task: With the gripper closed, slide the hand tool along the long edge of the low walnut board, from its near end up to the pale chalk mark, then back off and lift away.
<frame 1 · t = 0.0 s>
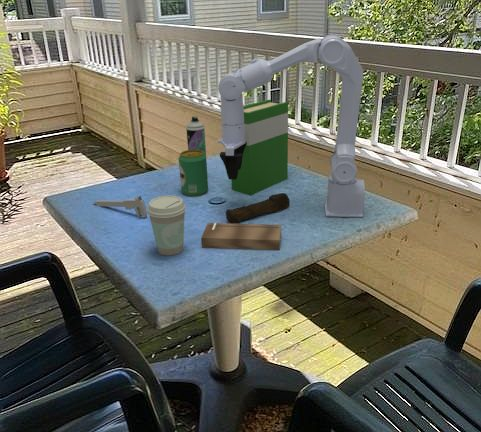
hand: (234, 173, 127), 10 cm above the table, tool pointing down, fingers open, 7 cm apart
beverage can: (194, 192, 144), on the table
hardback book: (260, 185, 148), on the table
walnut board: (242, 240, 115), on the table
spray can: (199, 179, 154), on the table
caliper: (118, 212, 133), on the table
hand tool: (258, 215, 128), on the table
coffee cup: (170, 250, 112), on the table
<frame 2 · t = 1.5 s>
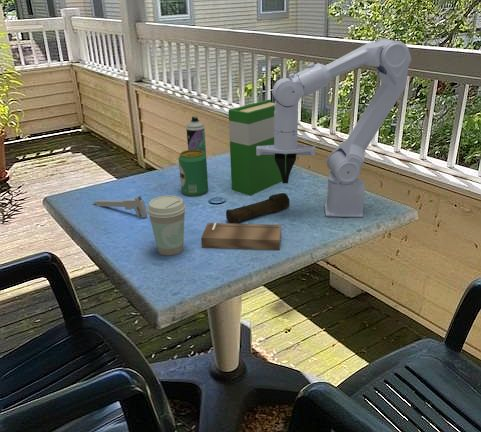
hand: (285, 182, 123), 9 cm above the table, tool pointing down, fingers closed
nothing on the table moved.
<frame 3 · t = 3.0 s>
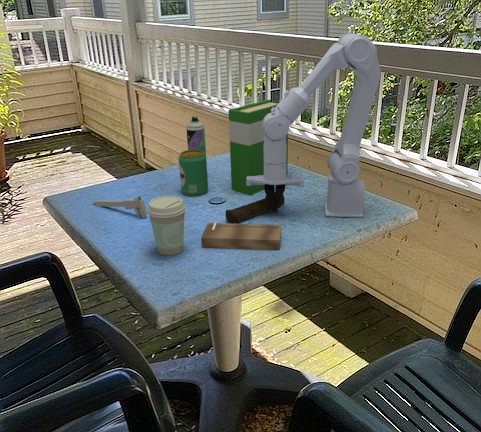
hand: (274, 210, 127), 1 cm above the table, tool pointing down, fingers closed
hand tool: (256, 214, 129), on the table, touching gripper
everything else where it was.
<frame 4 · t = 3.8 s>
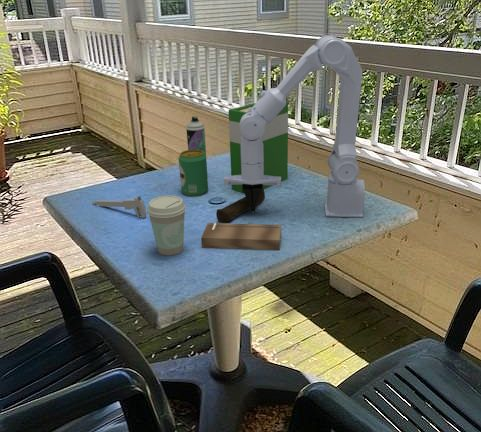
hand: (253, 210, 128), 1 cm above the table, tool pointing down, fingers closed
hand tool: (242, 211, 131), on the table, touching gripper
everything else where it was.
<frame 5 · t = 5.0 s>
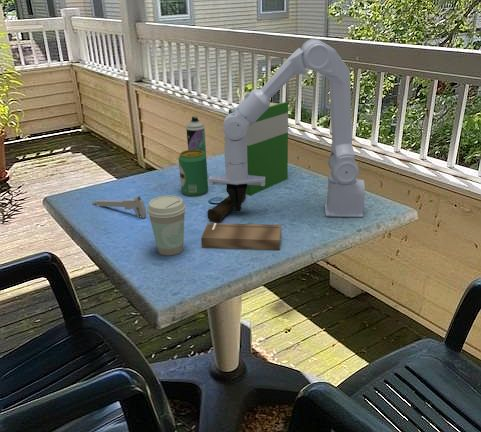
hand: (238, 210, 128), 1 cm above the table, tool pointing down, fingers closed
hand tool: (228, 209, 132), on the table
everything else where it was.
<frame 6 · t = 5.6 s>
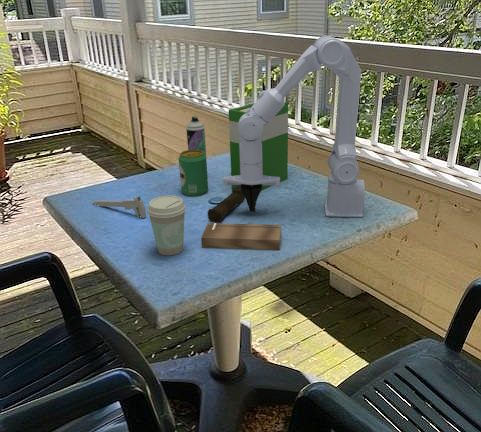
hand: (252, 210, 128), 1 cm above the table, tool pointing down, fingers closed
nothing on the table moved.
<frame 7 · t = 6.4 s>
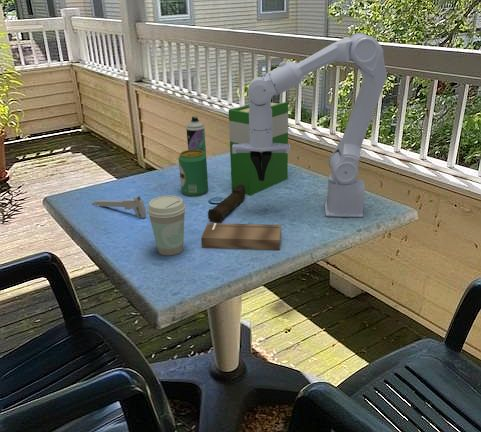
hand: (261, 179, 125), 9 cm above the table, tool pointing down, fingers closed
nothing on the table moved.
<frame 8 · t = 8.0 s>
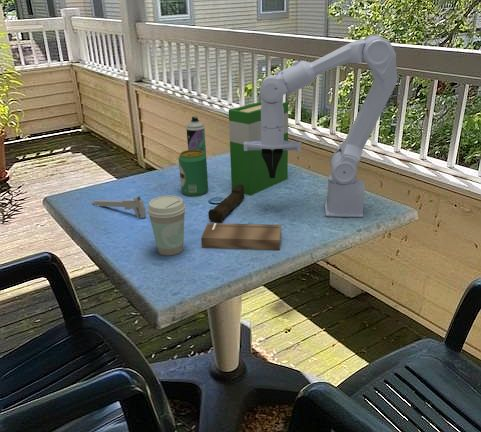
hand: (272, 176, 127), 9 cm above the table, tool pointing down, fingers closed
nothing on the table moved.
at the end: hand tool inside the target area (3.3 cm from its centre), on the table; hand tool moved 9.2 cm from its start; the gripper is holding nothing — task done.
